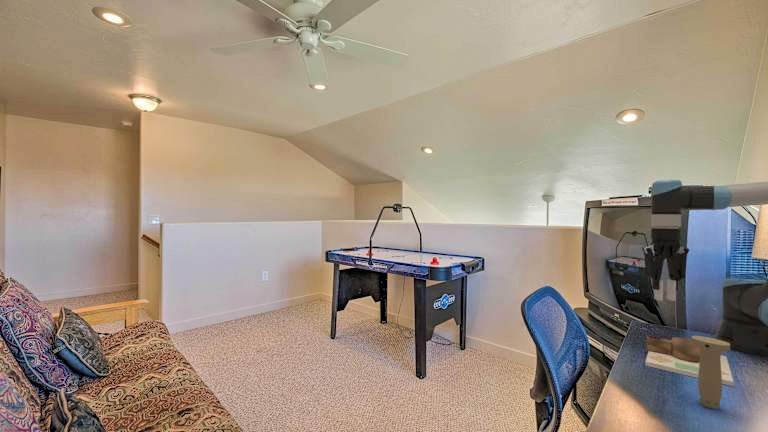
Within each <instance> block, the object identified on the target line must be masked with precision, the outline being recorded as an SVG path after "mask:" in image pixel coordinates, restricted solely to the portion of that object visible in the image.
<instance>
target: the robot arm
mask: <svg viewBox="0 0 768 432" xmlns="http://www.w3.org/2000/svg"><path fill="white" fill-rule="evenodd" d="M650 197H651V199H650V200H651V203H650V204H651V205H650V206H651V207H650V208H651V212H650V213H651V216H650V217H651V218H650V222H651V223H650V225H651V227H653V228H651V229H650V238H651V243H650V245H648V246H644V247H642V252H643V255H644V268H645V270H644V271H645V277H646V278H649V279H652V281H651V283H652V286H651V289H652V290H654V291H653V299H654V300H657V301H659V302H662V301H664V280H662V279H661V278H662V272H663V268H664V263H665V260H666V265H667V269H668V271H667V272H668V275H669V276H668V277H669V278H668V279H666V300H669V301H672V302H676V301H677V300H676V298H677V291H678V289H679V282H681V281H682V279H685V278H686V269H687V257H688V254H689V252H690V249H689V248H687V247H684V246H681V244H680V240H681V239H682V230H681V229H680V227H682V211H683V212H684V211H685V212H686V211H704V210H707V211H717V210H718V211H719V210H722V211H723V210H725V209H727V208H735V207H747V206H748V207H749V206H761V205H762V206H763V205H765V206H766V205H768V181H760V182H759V181H757V182H747V183H746V182H745V183H736V184H728V185H715V184H714V185H695V186H693V185H692V186H687V185H683V184H682V180H680V179H662V180H661V179H660V180H659V179H658V180H655V181H654V182H652V184H651V193H650ZM721 288H722V321H721V323H720V325H719V327H718V329H717V331H716V333H715V337H714V339H718V340H721V341H725V342H728V343H730V350H734V351H738V352H741V353H746V354H751V355H757V356H766V357H767V356H768V278H767V279H765V280H764V279H750V278H749V279H746V278H725V279H724V280H723V282H722V287H721Z"/></svg>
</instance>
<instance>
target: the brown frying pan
mask: <svg viewBox="0 0 768 432" xmlns="http://www.w3.org/2000/svg"><path fill="white" fill-rule="evenodd" d="M646 350H647V351H649V350H651V351H656V352H660V353H665V354H670V355H671V354H672V355H673V356H675V357H677V358H680V359H683V360H687V361H693V362H700V348H699V347H697V346H696V345H694V344H693V343H692V338H687V337H682V336H674V337H671V339H666V338H661V337H660V336H654V335H650V334H648V335H647V336H646Z"/></svg>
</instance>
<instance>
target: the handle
mask: <svg viewBox="0 0 768 432" xmlns="http://www.w3.org/2000/svg"><path fill="white" fill-rule="evenodd" d="M691 339H692V343H693V344H694V345H696V346H697V347H699V348H700V364H699V374H698V378H697V386H698V394H699V403H700V405H702V406H704V407H705V408H708V409H714V410H718V409H719V408H720V405H721V400H722V395H723V394H722V393H723V384H722V376H721V361H720V356H721V355H722V353H725V352H729V351H730V350H731V349H730V343H728V342H725V341H721V340H718V339H715V338H712V337H707V336H702V335H701V336H700V335H692V336H691Z"/></svg>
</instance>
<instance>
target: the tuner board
mask: <svg viewBox="0 0 768 432" xmlns="http://www.w3.org/2000/svg"><path fill="white" fill-rule="evenodd" d="M720 361H721V376H722V385H727V386H730V387H734V379H733V375H732V372H731V368H730V365H729V362H728V357H727V356H726V355H722V354H721V356H720ZM644 363H645V367H649V368H655V369H659V370H662V371H668V372H671V373H676V374H679V375H684V376H688V377H692V378H697V379H698V374H699V364H700V362H693V361H687V360H683V359H680V358H677V357H675V356H673V355H672V354H671V355H670V354H665V353H660V352H656V351H651V350H647V355H646V358H645V362H644Z"/></svg>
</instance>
